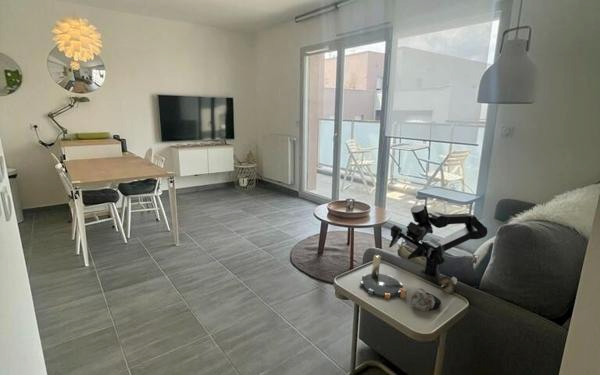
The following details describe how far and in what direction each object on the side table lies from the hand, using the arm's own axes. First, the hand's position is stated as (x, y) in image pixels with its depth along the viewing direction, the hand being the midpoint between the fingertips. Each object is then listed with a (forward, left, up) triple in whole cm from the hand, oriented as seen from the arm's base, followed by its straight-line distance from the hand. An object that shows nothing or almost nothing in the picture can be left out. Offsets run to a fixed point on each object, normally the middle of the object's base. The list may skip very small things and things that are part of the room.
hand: (398, 252), depth 138 cm
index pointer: (+9, +8, -14) cm, 18 cm away
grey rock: (+7, +16, -14) cm, 23 cm away
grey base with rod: (+9, -2, -14) cm, 16 cm away
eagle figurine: (-12, +18, -14) cm, 26 cm away
